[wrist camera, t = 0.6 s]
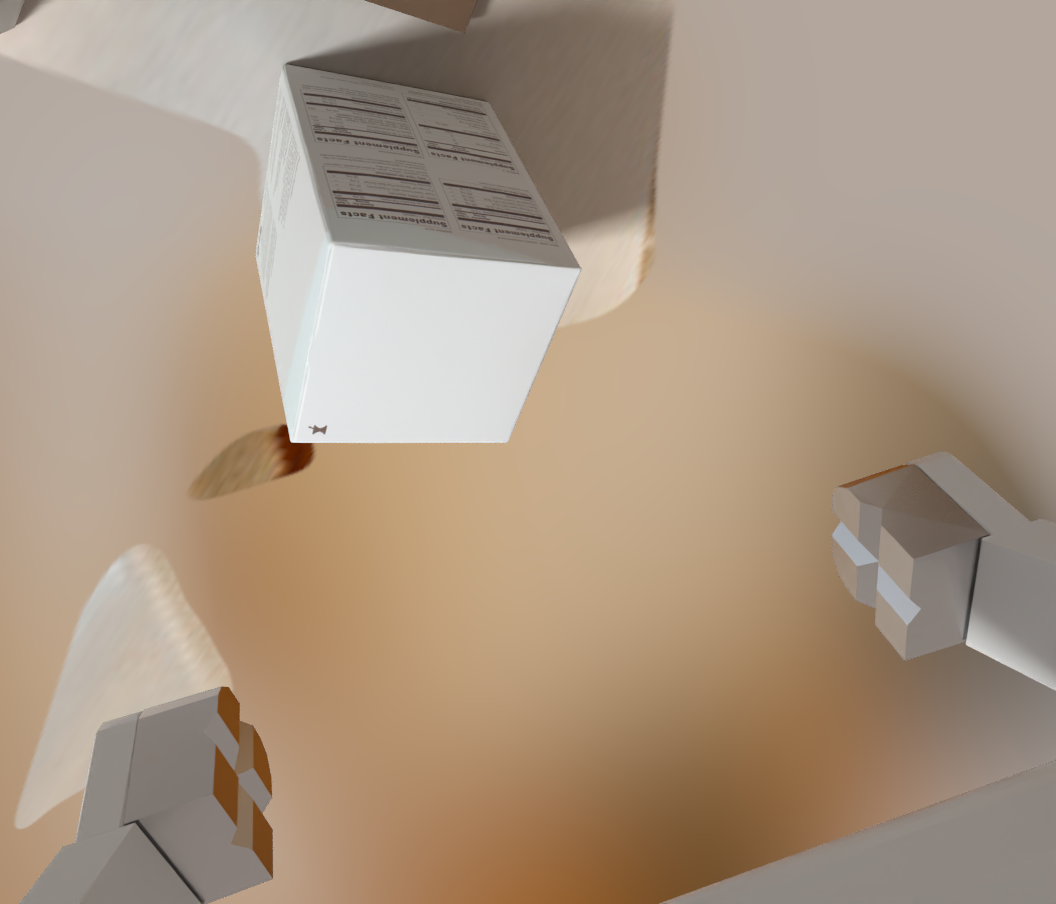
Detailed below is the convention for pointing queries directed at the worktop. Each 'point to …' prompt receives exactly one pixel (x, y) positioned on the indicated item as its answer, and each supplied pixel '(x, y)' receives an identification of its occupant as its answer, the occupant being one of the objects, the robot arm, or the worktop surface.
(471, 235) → the supplement box
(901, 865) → the robot arm
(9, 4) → the flask
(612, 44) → the worktop surface
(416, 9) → the square holder on base
